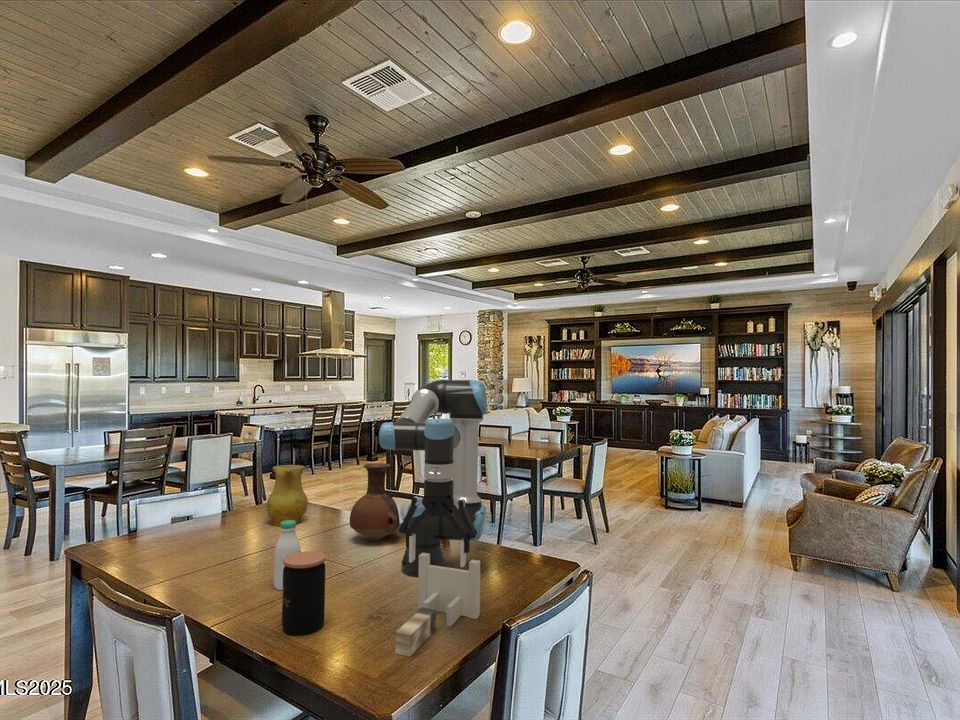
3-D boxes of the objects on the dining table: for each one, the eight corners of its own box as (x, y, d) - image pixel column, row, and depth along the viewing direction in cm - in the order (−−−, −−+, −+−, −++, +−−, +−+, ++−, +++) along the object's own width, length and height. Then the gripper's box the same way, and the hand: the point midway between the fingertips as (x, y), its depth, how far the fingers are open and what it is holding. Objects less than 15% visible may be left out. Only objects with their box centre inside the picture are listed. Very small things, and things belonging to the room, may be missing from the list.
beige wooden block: (410, 656, 127) (410, 634, 127) (394, 653, 128) (395, 631, 128) (435, 630, 140) (435, 609, 140) (421, 627, 141) (421, 607, 142)
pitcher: (256, 526, 230) (261, 467, 232) (279, 516, 248) (284, 462, 250) (293, 529, 227) (298, 470, 229) (314, 520, 245) (318, 465, 247)
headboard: (407, 618, 146) (407, 562, 147) (421, 605, 155) (422, 552, 155) (467, 629, 140) (468, 571, 141) (479, 615, 149) (480, 560, 149)
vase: (414, 539, 215) (415, 464, 216) (378, 553, 199) (379, 471, 199) (370, 528, 229) (372, 458, 230) (334, 540, 213) (335, 464, 213)
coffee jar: (288, 617, 146) (289, 551, 146) (328, 616, 147) (329, 550, 147) (276, 637, 135) (278, 565, 136) (319, 635, 136) (321, 564, 136)
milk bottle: (275, 592, 162) (276, 526, 163) (272, 583, 169) (273, 520, 169) (301, 588, 166) (303, 523, 166) (297, 579, 172) (299, 517, 173)
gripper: (387, 479, 137) (385, 563, 136) (483, 484, 131) (481, 572, 131) (398, 474, 144) (396, 554, 143) (489, 479, 139) (488, 562, 138)
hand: (437, 563), depth 137 cm, fingers open, 13 cm apart
